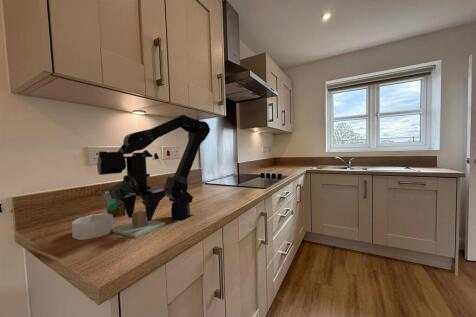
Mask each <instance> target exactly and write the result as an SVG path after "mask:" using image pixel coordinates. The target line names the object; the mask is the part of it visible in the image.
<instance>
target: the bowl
mask: <svg viewBox="0 0 476 317" xmlns="http://www.w3.org/2000/svg"><path fill="white" fill-rule="evenodd" d="M113 229H114V218H113V214H107V212H105V213H98V214H97V213H95V214H90V215H87V216H83V217H80V218H79V217H78V218H76V219H75V220H73V221H72V222H71V234H72V236H71V237H72V238H73V239H75V240H78V241H82V240H89V239H97V238H99V237H101V236H105V235H107V234H109V233H110V232H113Z"/></svg>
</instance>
